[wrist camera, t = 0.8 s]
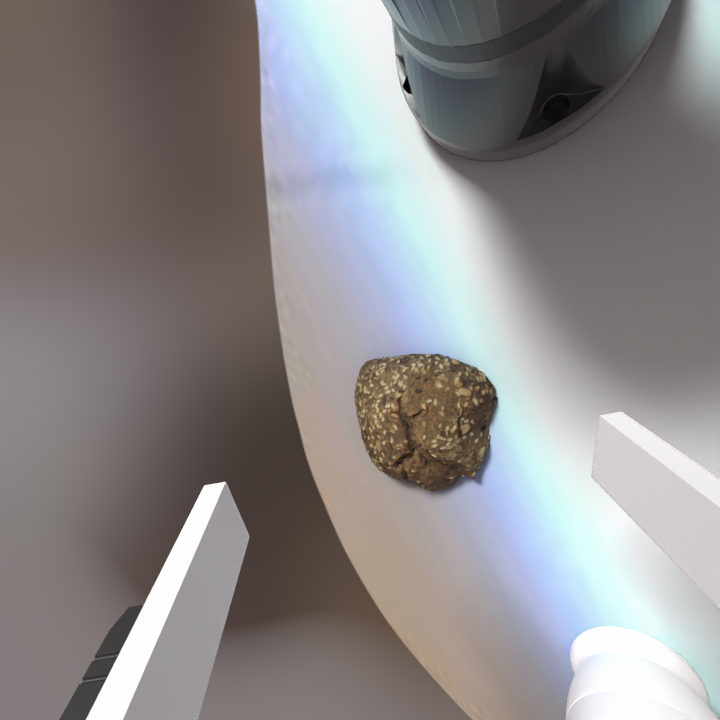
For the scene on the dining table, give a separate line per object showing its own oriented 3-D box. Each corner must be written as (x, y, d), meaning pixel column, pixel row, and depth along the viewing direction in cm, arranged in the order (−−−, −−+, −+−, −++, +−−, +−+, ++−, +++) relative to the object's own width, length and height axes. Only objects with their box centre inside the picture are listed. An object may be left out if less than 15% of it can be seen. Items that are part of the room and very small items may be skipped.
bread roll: (361, 345, 32) (333, 355, 28) (501, 356, 26) (493, 371, 22) (362, 467, 35) (337, 493, 30) (489, 500, 29) (480, 538, 25)
